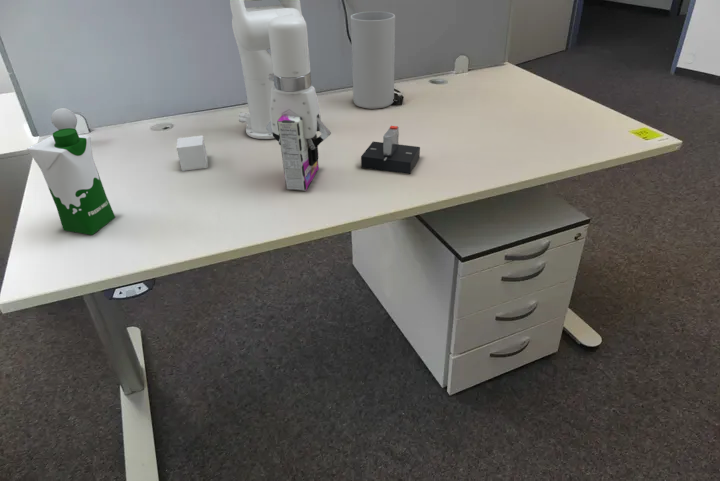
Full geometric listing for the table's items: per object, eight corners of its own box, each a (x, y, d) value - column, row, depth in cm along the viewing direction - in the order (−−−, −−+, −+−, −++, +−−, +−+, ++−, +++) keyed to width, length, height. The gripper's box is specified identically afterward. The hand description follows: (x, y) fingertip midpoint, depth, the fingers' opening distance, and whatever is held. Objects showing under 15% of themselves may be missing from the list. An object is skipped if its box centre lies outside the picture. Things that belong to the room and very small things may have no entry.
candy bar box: (299, 167, 125) (292, 101, 115) (319, 169, 124) (314, 102, 115) (284, 190, 116) (275, 119, 106) (306, 192, 115) (299, 121, 106)
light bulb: (89, 144, 140) (76, 108, 134) (66, 151, 137) (53, 114, 131) (79, 138, 143) (67, 103, 138) (57, 145, 140) (44, 109, 134)
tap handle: (391, 157, 121) (391, 135, 118) (383, 156, 122) (383, 134, 119) (398, 146, 126) (398, 126, 123) (390, 145, 127) (390, 125, 124)
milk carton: (93, 238, 102) (56, 143, 90) (55, 232, 104) (15, 138, 93) (122, 215, 109) (91, 124, 97) (86, 210, 111) (52, 120, 100)
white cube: (207, 167, 126) (202, 144, 123) (182, 171, 125) (176, 148, 122) (207, 157, 131) (202, 135, 128) (183, 160, 130) (177, 138, 127)
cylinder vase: (374, 93, 168) (373, 9, 154) (402, 102, 160) (404, 15, 146) (345, 102, 161) (341, 16, 147) (373, 112, 153) (372, 22, 139)
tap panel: (360, 168, 123) (360, 156, 122) (373, 151, 131) (373, 139, 130) (409, 175, 120) (409, 163, 118) (420, 157, 128) (420, 145, 126)
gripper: (247, 83, 107) (259, 164, 117) (324, 90, 102) (329, 174, 112) (264, 73, 112) (274, 150, 123) (338, 79, 107) (342, 159, 118)
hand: (300, 160), depth 117 cm, fingers closed on candy bar box, 5 cm apart
